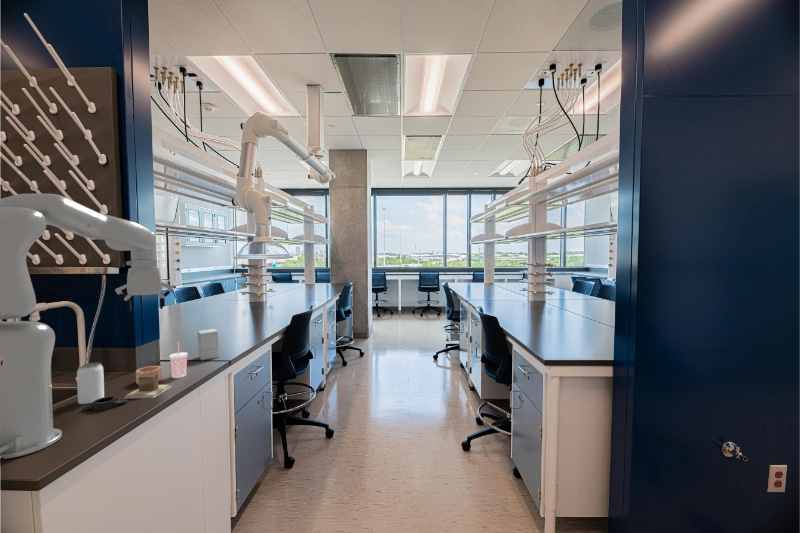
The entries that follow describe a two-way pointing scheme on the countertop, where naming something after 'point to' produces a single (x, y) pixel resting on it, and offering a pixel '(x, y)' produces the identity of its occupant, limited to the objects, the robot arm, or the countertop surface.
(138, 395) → the lid
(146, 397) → the mat
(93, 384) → the can
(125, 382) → the countertop surface
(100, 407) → the black winged knob
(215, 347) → the supplement box
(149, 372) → the bowl
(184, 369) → the beverage cup
